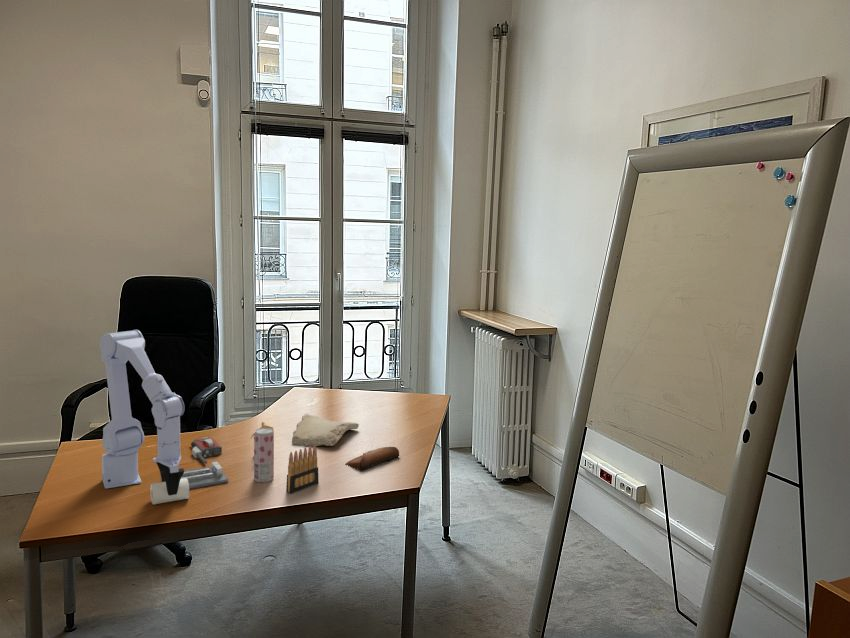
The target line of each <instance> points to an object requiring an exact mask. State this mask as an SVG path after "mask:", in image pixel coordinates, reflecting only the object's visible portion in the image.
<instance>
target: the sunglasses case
mask: <svg viewBox="0 0 850 638" xmlns="http://www.w3.org/2000/svg"><path fill="white" fill-rule="evenodd" d="M397 456H399V457H400V451H399V449H398V448H397V447H395V446H384V447H380V448H379V447H378V448H375V449H372V450H370V451H367V452H363V454H362V455H361V454H360V455H359V456H357V457H354V458H353V459H350V460H349V461H347V462H346V463H345V464H344V465H345V466H347V465H348V466H347V467H349V466H350V468H352V469H354V468H355V470H357V469H358V470H357V471H359V470H360V471H359V472H361V471H364V470H366V469H368V468H371V467H372V466H375V465H376V464H380V463H382V462H385V461H388V460H391V459H393V458H398V457H397Z"/></svg>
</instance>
